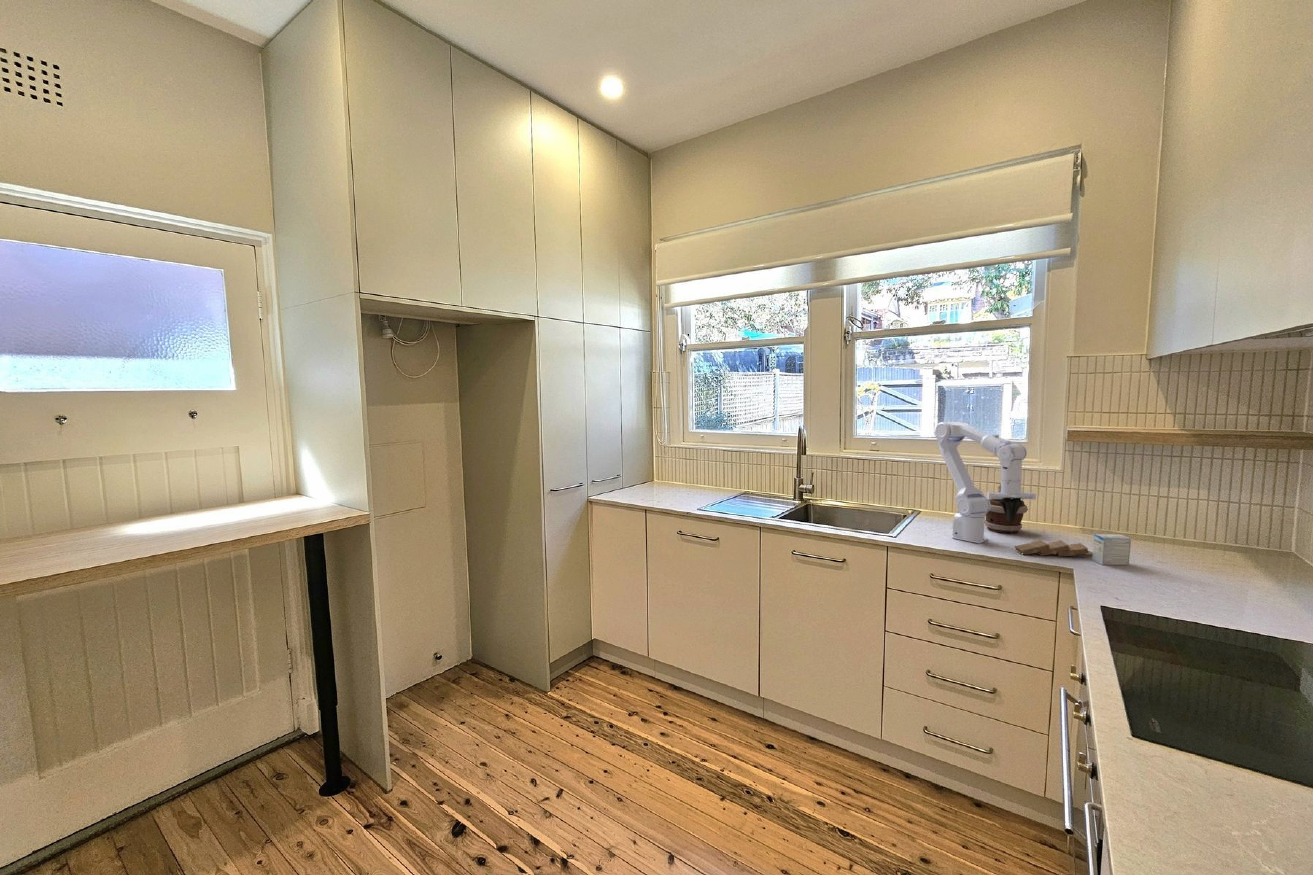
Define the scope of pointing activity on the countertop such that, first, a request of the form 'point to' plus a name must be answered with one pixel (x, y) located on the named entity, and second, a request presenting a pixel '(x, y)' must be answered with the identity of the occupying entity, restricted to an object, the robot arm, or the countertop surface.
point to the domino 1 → (1032, 547)
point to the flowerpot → (1003, 518)
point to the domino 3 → (1074, 550)
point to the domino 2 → (1055, 548)
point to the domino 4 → (1085, 554)
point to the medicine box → (1111, 549)
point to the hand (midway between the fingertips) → (1010, 520)
